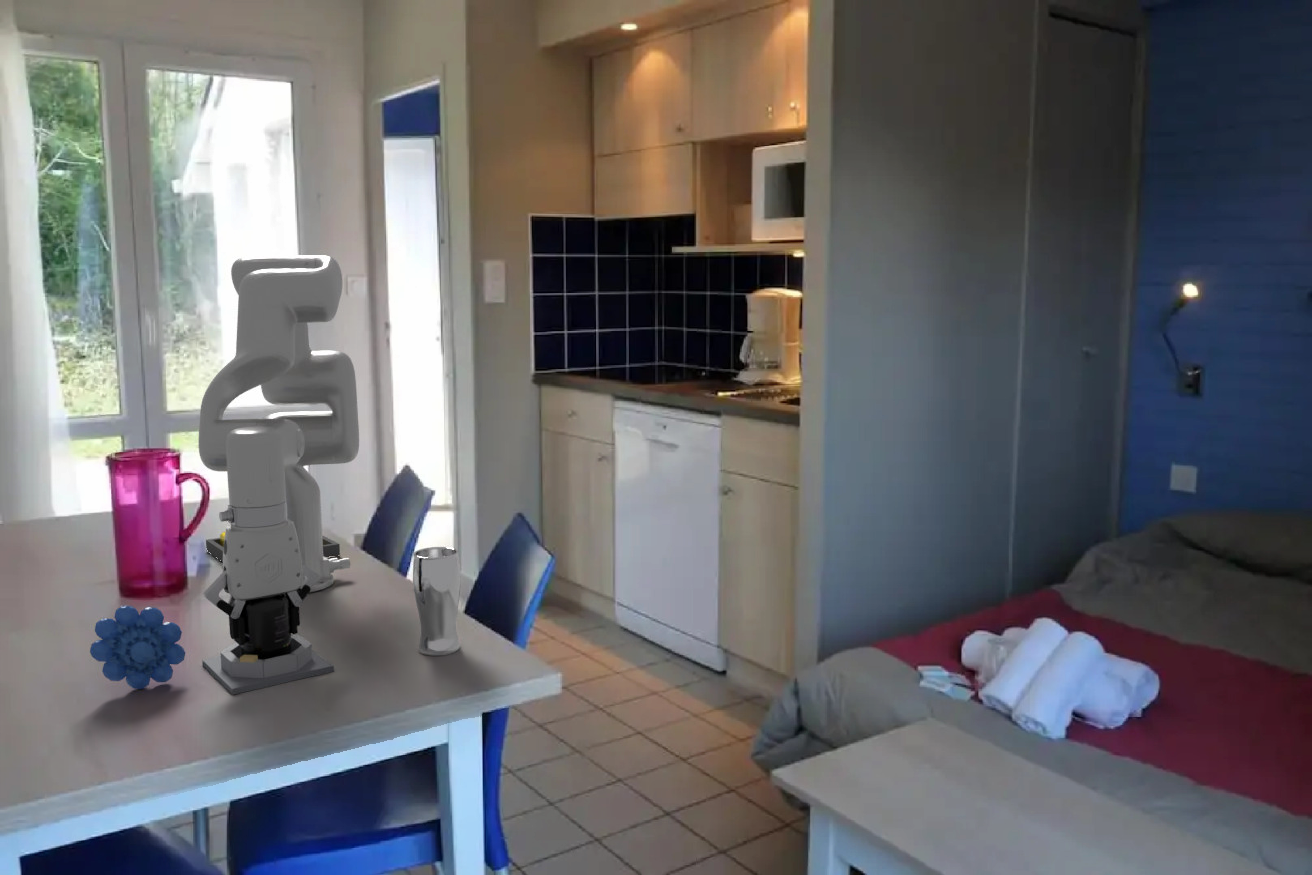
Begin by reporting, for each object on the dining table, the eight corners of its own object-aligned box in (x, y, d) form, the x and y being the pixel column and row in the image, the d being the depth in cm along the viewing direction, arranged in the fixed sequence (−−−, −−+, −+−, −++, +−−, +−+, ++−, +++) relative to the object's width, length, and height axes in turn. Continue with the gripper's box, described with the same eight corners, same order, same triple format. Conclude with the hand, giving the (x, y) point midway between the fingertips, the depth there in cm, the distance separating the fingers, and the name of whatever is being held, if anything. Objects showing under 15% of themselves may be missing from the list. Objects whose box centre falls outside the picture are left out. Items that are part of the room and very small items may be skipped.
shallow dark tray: (303, 536, 230) (303, 525, 230) (339, 556, 215) (339, 543, 214) (206, 551, 218) (205, 539, 218) (237, 573, 203) (236, 560, 202)
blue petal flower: (99, 708, 140) (91, 620, 138) (91, 692, 145) (83, 606, 143) (194, 688, 146) (188, 604, 144) (183, 674, 152) (177, 591, 150)
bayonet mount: (298, 644, 164) (297, 621, 163) (333, 671, 153) (332, 646, 152) (202, 665, 155) (200, 641, 155) (232, 694, 144) (231, 669, 144)
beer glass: (422, 660, 157) (419, 560, 155) (410, 645, 163) (406, 549, 161) (468, 652, 160) (465, 554, 158) (454, 638, 166) (451, 544, 164)
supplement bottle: (231, 664, 151) (226, 582, 150) (258, 647, 158) (253, 568, 156) (276, 668, 150) (271, 585, 148) (301, 651, 157) (297, 571, 155)
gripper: (201, 529, 143) (210, 658, 145) (329, 511, 153) (334, 631, 156) (186, 519, 148) (195, 642, 151) (309, 502, 159) (315, 618, 162)
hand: (265, 636), depth 154 cm, fingers closed on supplement bottle, 6 cm apart
